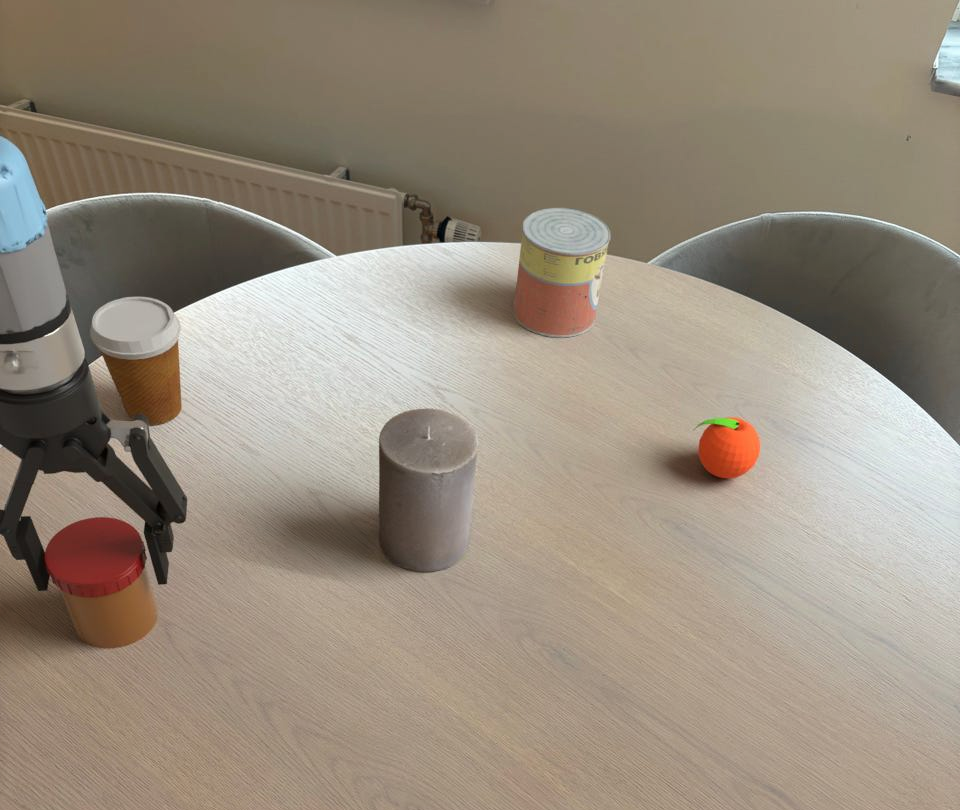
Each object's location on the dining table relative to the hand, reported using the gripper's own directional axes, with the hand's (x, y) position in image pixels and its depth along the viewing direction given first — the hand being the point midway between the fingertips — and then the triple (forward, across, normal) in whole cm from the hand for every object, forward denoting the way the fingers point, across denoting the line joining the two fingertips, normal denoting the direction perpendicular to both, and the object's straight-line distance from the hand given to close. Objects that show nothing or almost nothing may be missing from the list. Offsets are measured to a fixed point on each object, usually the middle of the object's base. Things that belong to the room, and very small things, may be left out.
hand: (104, 576), depth 88 cm
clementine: (+8, +66, +20) cm, 69 cm away
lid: (-3, 0, 0) cm, 3 cm away
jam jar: (+8, 0, 0) cm, 8 cm away
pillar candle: (+8, +30, +10) cm, 33 cm away
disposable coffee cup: (+8, 0, +34) cm, 35 cm away
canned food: (+8, +52, +52) cm, 74 cm away
